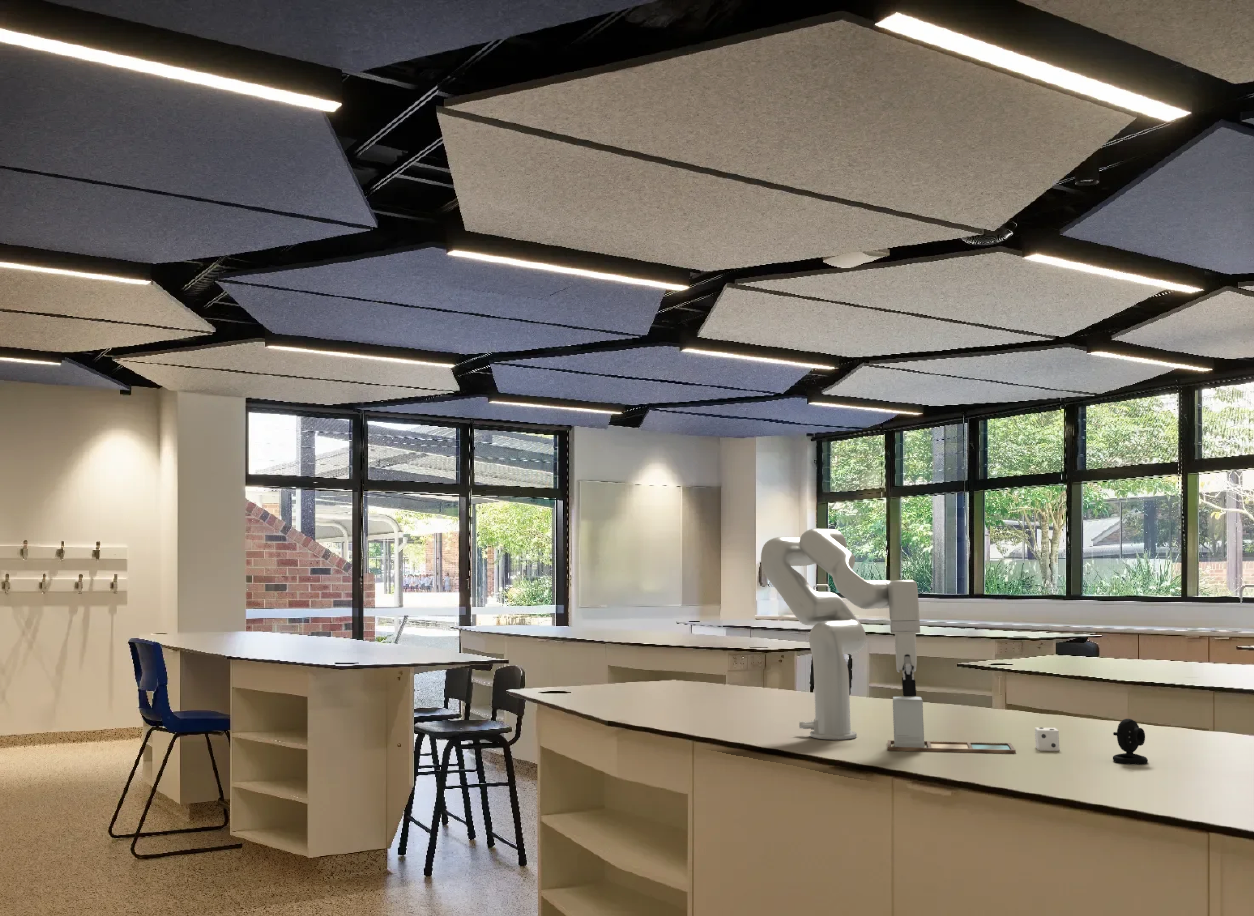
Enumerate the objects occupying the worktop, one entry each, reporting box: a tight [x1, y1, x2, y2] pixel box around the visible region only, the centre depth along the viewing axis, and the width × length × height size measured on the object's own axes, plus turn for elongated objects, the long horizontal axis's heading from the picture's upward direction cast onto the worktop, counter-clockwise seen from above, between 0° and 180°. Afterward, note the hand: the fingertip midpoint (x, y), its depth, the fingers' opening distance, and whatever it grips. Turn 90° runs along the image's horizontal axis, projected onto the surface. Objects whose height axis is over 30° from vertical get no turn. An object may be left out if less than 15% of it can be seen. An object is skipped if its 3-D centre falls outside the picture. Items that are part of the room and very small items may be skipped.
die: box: [1034, 726, 1061, 752], centre depth 275 cm, size 5×5×5 cm
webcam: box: [1112, 718, 1149, 766], centre depth 255 cm, size 8×8×10 cm
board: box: [887, 739, 1017, 755], centre depth 277 cm, size 31×12×1 cm, turn 77°
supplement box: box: [892, 696, 925, 748], centre depth 280 cm, size 7×7×13 cm
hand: (909, 694), depth 280 cm, fingers open, 9 cm apart
